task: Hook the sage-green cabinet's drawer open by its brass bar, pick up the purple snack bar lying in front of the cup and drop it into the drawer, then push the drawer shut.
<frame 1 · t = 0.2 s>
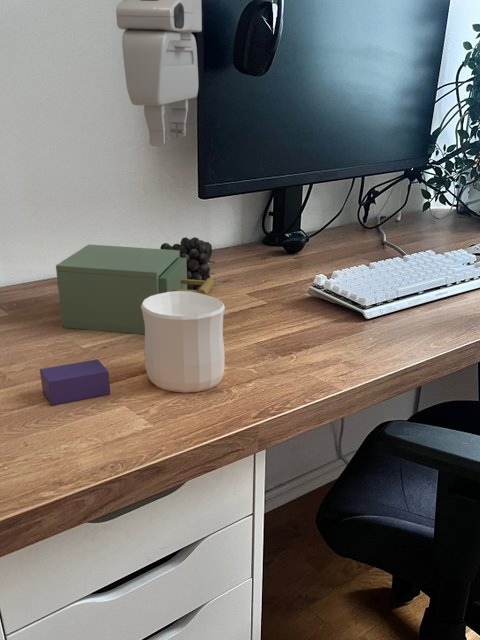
hand: (168, 141, 88), 25 cm above the table, tool pointing down, fingers open, 8 cm apart
drawer: (149, 290, 102), point 5 cm above the table, slide at 0.0 cm
cabinet: (124, 317, 105), on the table
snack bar: (76, 393, 82), on the table
cup: (185, 379, 86), on the table
fruit: (172, 287, 119), on the table
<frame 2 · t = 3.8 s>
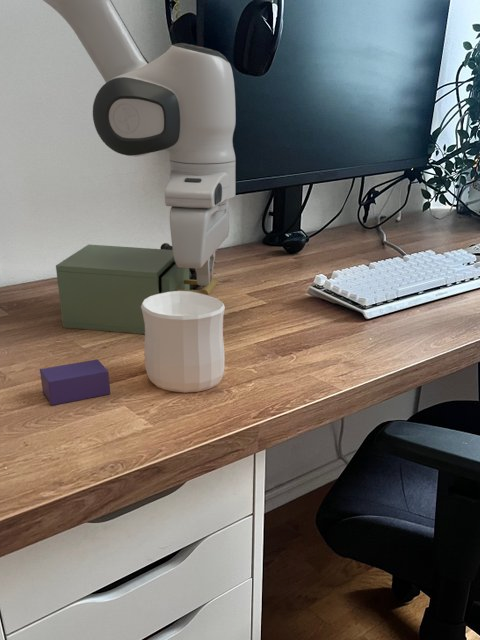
hand: (205, 283, 100), 6 cm above the table, tool pointing down, fingers closed, pressing on drawer
drawer: (152, 290, 102), point 5 cm above the table, slide at 0.4 cm, touching gripper
everything else where it was.
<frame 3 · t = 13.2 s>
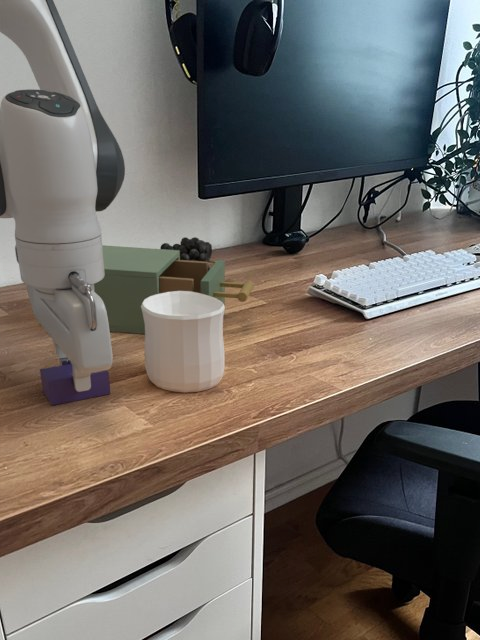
hand: (75, 380, 81), 2 cm above the table, tool pointing down, fingers closed on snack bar, 4 cm apart
drawer: (188, 292, 102), point 5 cm above the table, slide at 6.0 cm
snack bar: (76, 393, 82), on the table, touching gripper
everything else where it was.
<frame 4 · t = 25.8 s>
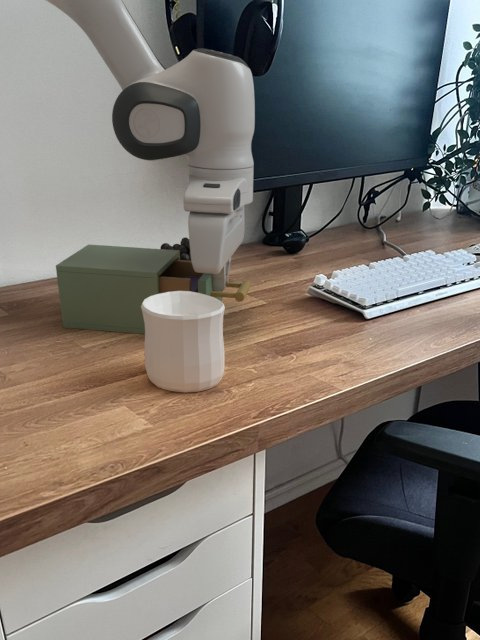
hand: (220, 287, 100), 6 cm above the table, tool pointing down, fingers closed, pressing on drawer
drawer: (186, 292, 102), point 5 cm above the table, slide at 5.6 cm, touching gripper, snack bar
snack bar: (201, 297, 102), point 4 cm above the table, tilted 90°, touching drawer
everything else where it was.
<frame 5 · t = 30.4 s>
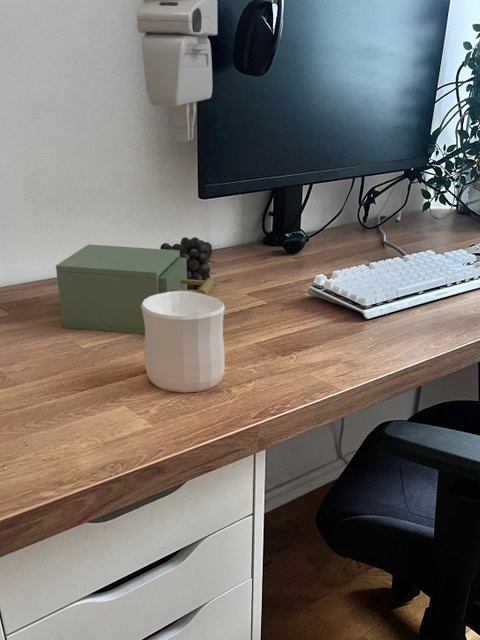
hand: (184, 141, 91), 25 cm above the table, tool pointing down, fingers closed
drawer: (149, 290, 102), point 5 cm above the table, slide at 0.0 cm, touching cabinet, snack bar
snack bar: (164, 294, 102), point 4 cm above the table, tilted 90°, touching drawer
everything else where it was.
at the end: drawer pulled out 6.2 cm at the most during the clip, back to where it started at the end; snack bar inside the target area in the cabinet (6.4 cm from its centre), point 4.0 cm above the cabinet's base; drawer slide at 0.0 cm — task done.
